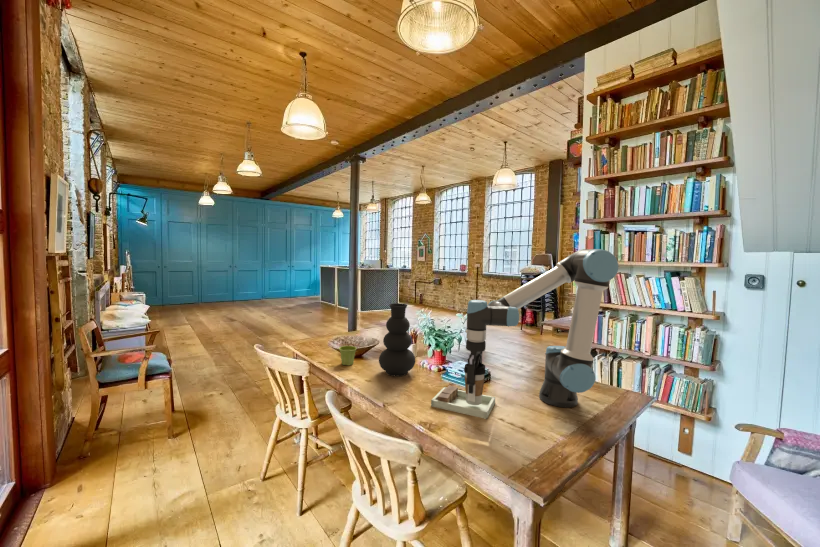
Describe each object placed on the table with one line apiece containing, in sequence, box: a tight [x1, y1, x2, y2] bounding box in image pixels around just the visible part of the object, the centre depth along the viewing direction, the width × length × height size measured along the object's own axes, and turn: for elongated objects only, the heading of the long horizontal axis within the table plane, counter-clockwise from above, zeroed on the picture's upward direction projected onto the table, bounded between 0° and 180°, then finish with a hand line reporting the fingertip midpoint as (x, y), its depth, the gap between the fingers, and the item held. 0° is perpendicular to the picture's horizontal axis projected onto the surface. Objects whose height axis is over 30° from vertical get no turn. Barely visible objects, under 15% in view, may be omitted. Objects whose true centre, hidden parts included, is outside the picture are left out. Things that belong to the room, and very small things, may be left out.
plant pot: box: [338, 345, 357, 366], centre depth 188 cm, size 9×9×9 cm
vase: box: [378, 302, 416, 377], centre depth 175 cm, size 18×18×35 cm
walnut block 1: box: [438, 393, 450, 403], centre depth 138 cm, size 4×4×4 cm
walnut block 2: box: [441, 389, 454, 403], centre depth 143 cm, size 4×4×4 cm
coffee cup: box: [463, 362, 487, 405], centre depth 137 cm, size 8×8×15 cm
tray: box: [430, 386, 496, 420], centre depth 139 cm, size 22×15×4 cm
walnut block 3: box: [446, 385, 459, 400], centre depth 146 cm, size 4×4×4 cm
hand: (473, 396), depth 137 cm, fingers closed on coffee cup, 7 cm apart
